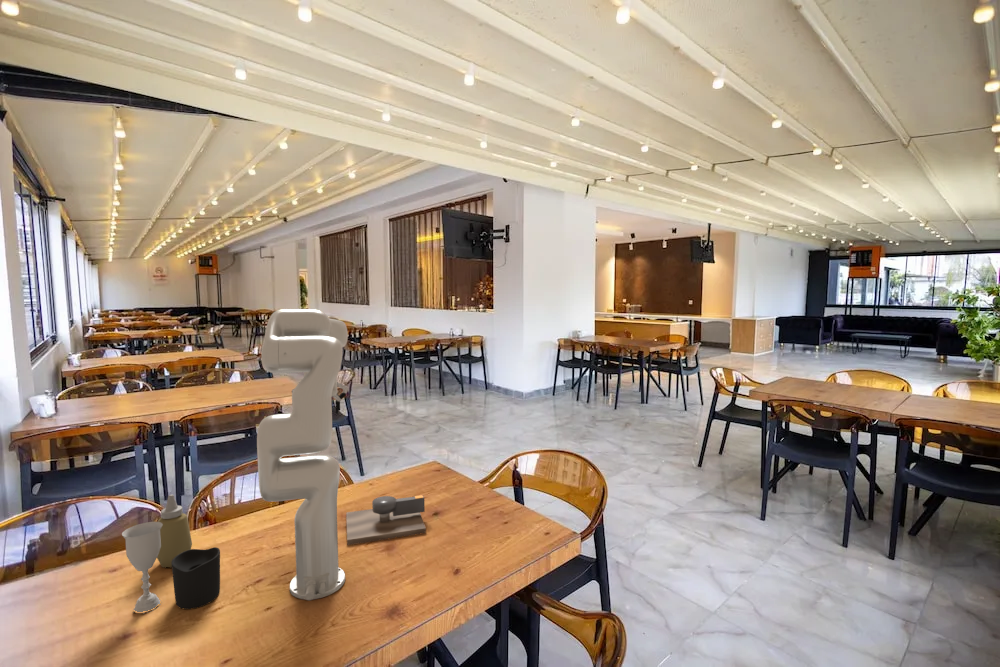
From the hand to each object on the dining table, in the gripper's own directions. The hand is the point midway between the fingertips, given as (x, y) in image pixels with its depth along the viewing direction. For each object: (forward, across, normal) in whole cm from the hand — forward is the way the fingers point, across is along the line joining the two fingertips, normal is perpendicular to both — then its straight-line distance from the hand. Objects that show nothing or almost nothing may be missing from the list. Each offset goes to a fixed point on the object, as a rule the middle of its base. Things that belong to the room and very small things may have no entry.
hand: (321, 413), depth 157 cm
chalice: (+31, -36, -42) cm, 64 cm away
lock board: (+31, +18, -19) cm, 41 cm away
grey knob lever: (+28, +22, -19) cm, 41 cm away
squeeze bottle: (+31, -36, -23) cm, 53 cm away
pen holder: (+31, -26, -42) cm, 59 cm away
